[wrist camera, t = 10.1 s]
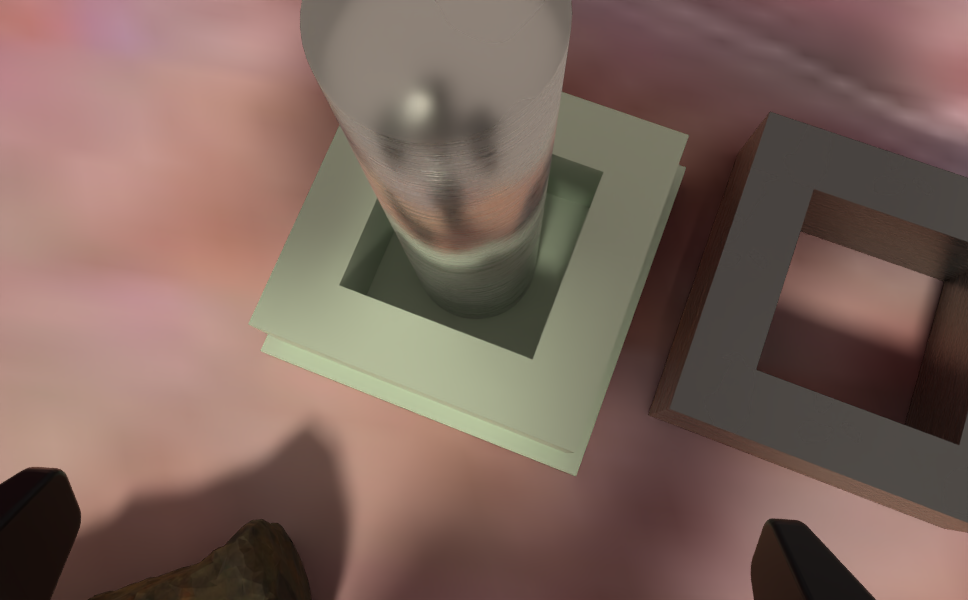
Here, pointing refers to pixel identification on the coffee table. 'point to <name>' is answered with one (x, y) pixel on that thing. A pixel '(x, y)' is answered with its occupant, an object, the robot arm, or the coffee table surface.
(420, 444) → the coffee table surface
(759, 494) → the coffee table surface
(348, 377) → the container
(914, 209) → the socket
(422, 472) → the coffee table surface
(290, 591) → the hand tool
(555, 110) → the grey cylinder
